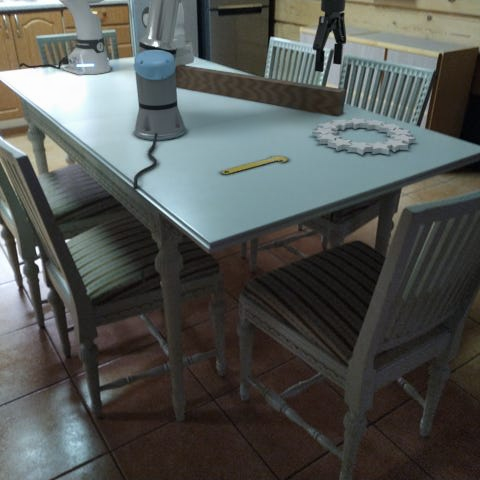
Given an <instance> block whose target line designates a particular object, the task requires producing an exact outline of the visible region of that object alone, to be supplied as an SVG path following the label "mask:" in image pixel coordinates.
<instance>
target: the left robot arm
mask: <svg viewBox="0 0 480 480" xmlns="http://www.w3.org/2000/svg"><path fill="white" fill-rule="evenodd" d="M58 1H59V2H60V3H61V4H63V5H64V6H65V8H67V10H68V11H69V13H70V14H71V16H72V19H73V21H74V27H75V32H76V39H74V40H73V41H74V42H73V43H74V44H75V48H74V49H73V50H72V51H71V52H70V53H69V54H68V55H67V56H64V57H62V58H61V59H60V60H59V61H58V66H56V65H55V64H49V63H48V64H46V63H45V64H38V65H28V64H26V63H24V62H21V63H20V64H19V67H22V66H23V67H25V68H29V69H36V68H44V67H52V68H54V69H55V70H56V69H57V70H61V67H62V65H61V64H63V65H67V66H64V67H63V71H66V72H69V73H72V74H75V75H79V76H80V75H97V74H104V73H109V72H110V71H112V70H111V68H112V66H111V64H110V62H109V56H108V53H107V49H106V48H105V47H106V44H105V37H104V36H103V35H104V34H103V27H102V20H101V18H100V17H99V16H98V15H97V14H95V13H93V11H92V8H91V6H90V5H91V4H98V3H101V2H104V1H105V0H58ZM149 6H150V5H149ZM149 6H145V7H144V8H143V9H142V12H141V24H142V25H143V28H145V29H146V28H147V21H148V13H149ZM184 11H185V10H184V5H183V2H182V0H180V2H179V8H178V14H177V21H176V27H175V33H174V39H173V42H174V44H175V45H176V47H177V52H176V58H175V64H176V67H177V66H181V65H186V66H187V65H190V64H193V63H194V62H195V54H194V48H193V44H192V43H193V42H192V41H191V40H190V39H186V31H185V12H184Z"/></svg>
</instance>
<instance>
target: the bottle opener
mask: <svg viewBox="0 0 480 480" xmlns="http://www.w3.org/2000/svg"><path fill="white" fill-rule="evenodd" d="M277 161H278V162H280V161H281V163H285V162H287V161H288V158H287V157H285V156H283V155H282V156H281V155H274V156H271V157H270V158H266V159H263V160H259V161H254V162H251V163H248V164H244V165H243V164H242V165H240V166H235V167H232V168H229V169H225V170H221V174H224V175H229V174H233V173H236V172H240V171H244V170H247V169H251V168H255V167H258V166H262V165H266V164H269V163H274V162H277Z"/></svg>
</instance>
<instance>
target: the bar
mask: <svg viewBox="0 0 480 480" xmlns="http://www.w3.org/2000/svg"><path fill="white" fill-rule="evenodd" d="M175 73H176V89H183V90H188V91H194V92H201V93H207V94H211V95H216V96H217V95H218V96H223V97H228V98H233V99H238V100H239V99H240V100H243V101H244V100H245V101H250V102H256V103H261V104H268V105H272V106H277V107H284V108H289V109H295V110H300V111H301V110H302V111H306V112H311V113H318V114H323V115H329V116H333V117H334V116H335V117H338V116H341V115H342V114H344V108H345V100H346V99H345V98H346V89H345V88H337V87H332V86H326V85H325V86H324V85H319V84H311V83H306V82H305V83H304V82H299V81H292V80H285V79H278V78H272V77H264V76H258V75H252V74H245V73H238V72H231V71H225V70H218V69H212V68H204V67H198V66H190V65H187V64H186V65H181V66H177V67H176V69H175Z"/></svg>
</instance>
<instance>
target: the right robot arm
mask: <svg viewBox="0 0 480 480" xmlns="http://www.w3.org/2000/svg"><path fill="white" fill-rule="evenodd" d="M179 2H180V0H149V13H148V21H147V28H145V35H144V36H143V37H141V38H140V39H139V42H138V43H139V44H138V51H137V54H136V55H135V57H134V61H133V62H134V63H133V69H134V72H135V73H134V74H135V82H136V83H135V84H136V93H137V101H138V103H137V104H138V111H137V117H136V121H135V124H134V125H135V126H134V131H135V132H134V133H135V136H136V137H138V138H140V139H144V140H148V141H152V145H151V146H150V147H149V149H148V151H147V156H148V158H150V160H152V161H153V163H152V164H151V165H148V166H147V167H144V168H142V169H141V170H139V171H138V172H137V173H136V174H135V175H134V178H133V190H137V189H138V180H139V179H138V178H139V177H140V176H141V175H142V174H143V173H146V172H147V171H149V170H151V169H153V168H155V167H156V166H157V163H158V161H157V158H155V156H153V155H152V151H153V150H154V149H155V147H156V144H157V141H165V140H166V141H167V140H172V139H176V138H179V137H181V136H183V135H184V134H185V132H186V125H185V123H184V120H183V117H182V115H181V112H180V110H179V107H178V106H179V105H178V91H177V89H178V88H177V87H176V73H175V69H176V64H175V58H176V52H177V47H176V45H175V44H174V42H173V39H174V33H175V27H176V21H177V14H178V8H179ZM345 10H346V0H320V11H321V12H324V15H323V16H322V15H320V16H319V17H318V23H317V27H316V32H315V35H314V40H313V44H312V50H313V51H315V59H314V60H315V61H314V64H315V65H314V72H318V73H323V72H324V69H325V68H324V67H325V56H326V55H325V52H326V50H325V47H326V44H327V41H328V39H329V36H330V34H331V33H333V37H334V41H335V43H334V45H333V57H332V64H333V65H342V61H343V59H342V58H343V49H344V47H343V46H344V45H346V44H347V31H346V22H345V15H346V13H345ZM140 275H141V284H143V285H144V284H146V277H145V276H146V275H145V270H144V269H143V270H140Z"/></svg>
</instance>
